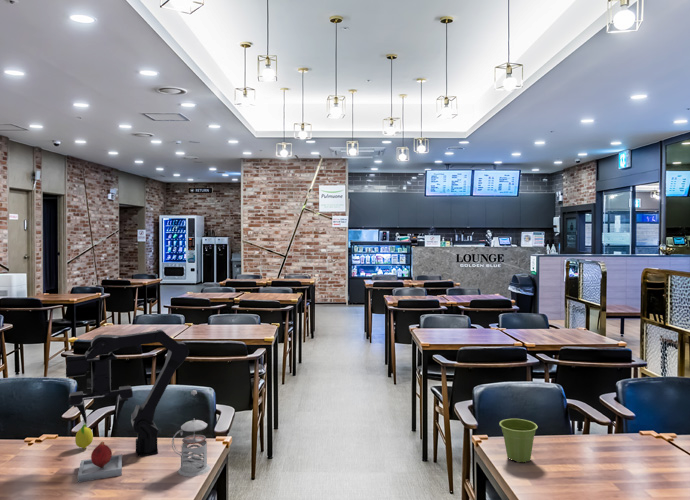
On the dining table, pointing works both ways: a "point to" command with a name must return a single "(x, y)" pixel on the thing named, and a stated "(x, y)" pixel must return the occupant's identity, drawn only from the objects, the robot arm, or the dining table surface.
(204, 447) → the french press
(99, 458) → the onion
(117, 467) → the dish
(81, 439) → the lemon
